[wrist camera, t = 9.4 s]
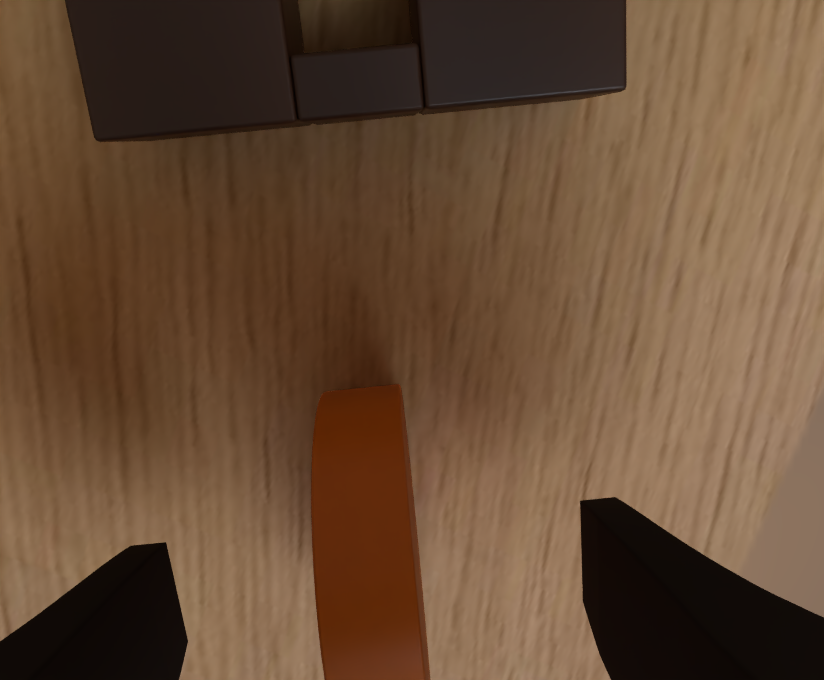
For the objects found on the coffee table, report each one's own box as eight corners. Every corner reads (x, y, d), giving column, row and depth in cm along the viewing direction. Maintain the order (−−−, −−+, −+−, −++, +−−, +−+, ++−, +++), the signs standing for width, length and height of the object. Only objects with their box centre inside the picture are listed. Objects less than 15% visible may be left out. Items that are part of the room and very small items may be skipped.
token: (397, 343, 15) (404, 476, 9) (422, 589, 16) (442, 837, 10) (331, 350, 14) (293, 488, 9) (363, 595, 16) (350, 846, 10)
